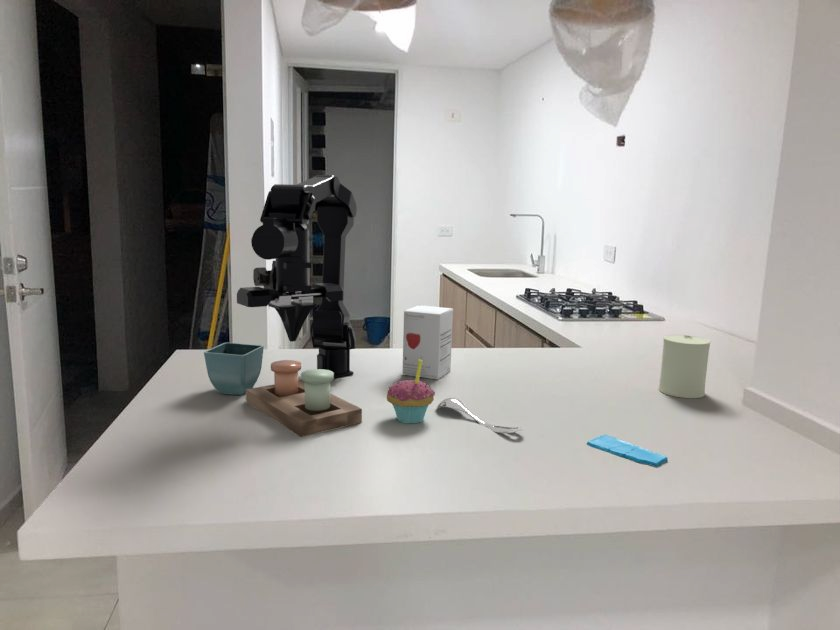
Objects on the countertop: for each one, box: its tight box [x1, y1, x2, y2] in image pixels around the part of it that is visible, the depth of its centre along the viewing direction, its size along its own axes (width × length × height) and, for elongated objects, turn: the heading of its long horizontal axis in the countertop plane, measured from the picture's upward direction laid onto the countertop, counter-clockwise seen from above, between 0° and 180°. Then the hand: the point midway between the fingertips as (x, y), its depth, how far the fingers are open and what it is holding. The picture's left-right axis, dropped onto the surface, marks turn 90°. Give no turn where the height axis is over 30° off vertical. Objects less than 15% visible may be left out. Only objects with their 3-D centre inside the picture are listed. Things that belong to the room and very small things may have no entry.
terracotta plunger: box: [270, 359, 302, 397], centre depth 116 cm, size 6×6×6 cm
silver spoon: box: [436, 397, 525, 434], centre depth 109 cm, size 20×4×5 cm
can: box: [657, 334, 711, 399], centre depth 130 cm, size 9×9×12 cm
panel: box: [245, 379, 363, 438], centre depth 112 cm, size 12×22×2 cm, turn 39°
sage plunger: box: [300, 368, 335, 411], centre depth 107 cm, size 6×6×6 cm
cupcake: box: [386, 356, 436, 424], centre depth 109 cm, size 9×8×12 cm
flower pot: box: [203, 342, 265, 396], centre depth 123 cm, size 9×9×9 cm
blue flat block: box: [586, 434, 668, 467], centre depth 98 cm, size 2×12×6 cm
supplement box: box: [402, 304, 454, 380], centre depth 139 cm, size 9×9×15 cm
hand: (292, 341), depth 112 cm, fingers closed
